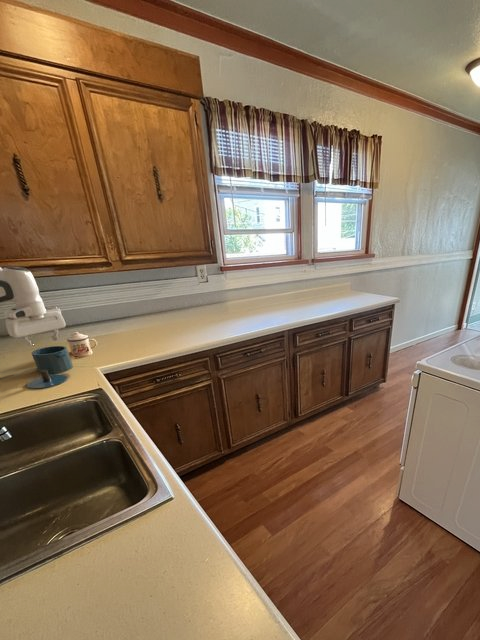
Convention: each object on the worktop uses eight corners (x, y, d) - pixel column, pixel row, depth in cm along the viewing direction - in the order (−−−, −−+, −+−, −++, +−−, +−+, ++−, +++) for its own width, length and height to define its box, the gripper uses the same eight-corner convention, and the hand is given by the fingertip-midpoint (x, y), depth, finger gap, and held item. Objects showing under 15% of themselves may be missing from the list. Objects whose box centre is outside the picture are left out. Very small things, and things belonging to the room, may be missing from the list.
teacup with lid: (72, 358, 160) (64, 335, 154) (72, 353, 166) (64, 331, 161) (100, 354, 166) (93, 331, 160) (98, 349, 172) (92, 328, 167)
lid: (39, 393, 125) (34, 379, 123) (20, 386, 131) (14, 373, 128) (75, 380, 136) (70, 367, 133) (56, 374, 141) (51, 362, 139)
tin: (53, 378, 137) (45, 357, 133) (30, 371, 145) (21, 351, 140) (82, 369, 147) (76, 349, 143) (59, 362, 155) (52, 343, 150)
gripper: (54, 304, 141) (64, 335, 147) (-2, 313, 125) (12, 348, 131) (63, 305, 138) (73, 337, 145) (7, 315, 122) (21, 350, 128)
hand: (44, 342), depth 138 cm, fingers open, 8 cm apart
